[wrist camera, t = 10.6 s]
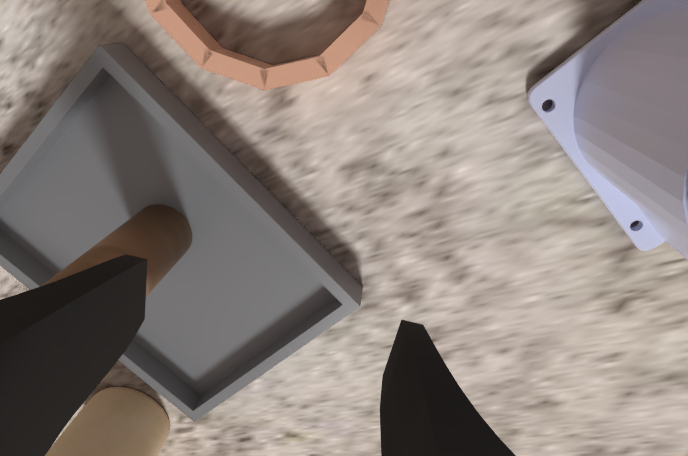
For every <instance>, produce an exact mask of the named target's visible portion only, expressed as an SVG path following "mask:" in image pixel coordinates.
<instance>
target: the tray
mask: <svg viewBox="0 0 688 456" xmlns="http://www.w3.org/2000/svg"><path fill="white" fill-rule="evenodd" d="M155 204H160V205H166V206H169V207H171V208H173V209H175V210H177V211H178V212H179V213H181V214H182V215H183V216H184V217H185V219H186V220H187V221H188V223H189V225H190V227H191V230H192V243H191V246H190V248H189V249H188V251H187V252H186V253H185V254H184V255H183V256H182V257H181V258H180V260H179V261H178V262H177V263H176V264H175V265H174V266H173V267H172V269H171V270H170V271H169V272H168V273H167V274H166V275H165V276H164V277H163V279H162V280H161V281H160V282H159V283H158V284H157V285H156V286H155V287H154V289H153V290H152V291H151V292H150V293H149V294H148V295H147V296H146V303H145V320H144V321H143V323H142V325H141V326H140V328H139V330H138V332H137V333H136V335H135V337H134V338H133V340H132V341H131V343H130V345H129V346H128V348H127V349H126V351H125V352H124V353H123V354H122V356H121V357H120V358H119V359H118V361H120V362H121V363H122V364H123V365H125V366H126V367H127V368H128V369H130V370H131V371H132V372H133V373H135V374H136V375H137V376H138V377H139V378H141V379H142V380H143V381H144V382H146V383H147V384H148V385H149V386H151V387H152V388H153V389H154V390H156V391H157V392H158V393H159V394H161V395H162V396H163V397H164V398H166V399H167V400H168V401H169V402H171V403H172V404H173V405H174V406H175V407H177V408H178V409H179V410H180V411H182V412H183V413H184V414H185V415H187V416H188V417H189V418H190V419H192V420H193V421H194V422H195V421H196V420H198V419H199V418H201V417H202V416H203V415H205V414H206V413H208V412H209V411H211V410H212V409H213V408H215V407H216V406H218V405H219V404H221V403H222V402H224V401H225V400H226V399H228V398H229V397H231V396H232V395H234V394H235V393H236V392H238V391H239V390H241V389H242V388H244V387H245V386H247V385H248V384H249V383H251V382H252V381H254V380H255V379H257V378H258V377H260V376H261V375H262V374H264V373H265V372H267V371H268V370H270V369H271V368H272V367H274V366H275V365H277V364H278V363H280V362H281V361H283V360H284V359H285V358H287V357H288V356H290V355H291V354H293V353H294V352H295V351H297V350H298V349H300V348H301V347H303V346H304V345H306V344H307V343H308V342H310V341H311V340H313V339H314V338H316V337H317V336H319V335H320V334H321V333H323V332H324V331H326V330H327V329H329V328H330V327H331V326H333V325H334V324H336V323H337V322H339V321H340V320H342V319H343V318H344V317H346V316H347V315H349V314H350V313H352V312H353V311H354V310H356V309H357V308H359V307H360V304H361V296H362V289H363V287H362V286H361V285H360V284H359V283H358V282H357V281H356V280H355V279H354V278H353V277H352V276H351V275H350V274H349V273H348V272H347V271H346V270H345V268H344V267H343V266H342V265H341V264H340V263H339V262H338V261H337V260H336V259H335V258H334V257H333V256H332V255H331V254H330V253H329V252H328V251H327V250H326V249H325V248H324V247H323V246H322V245H321V244H320V243H319V242H318V241H317V240H316V239H315V238H314V237H313V236H312V235H311V234H310V233H309V232H308V231H307V230H306V229H305V228H304V227H303V226H302V225H301V224H300V223H299V222H298V221H297V220H296V219H295V218H294V216H293V215H292V214H291V213H290V212H289V211H288V210H287V209H286V208H285V207H284V206H283V205H282V204H281V203H280V202H279V201H278V200H277V199H276V198H275V197H274V196H273V195H272V194H271V193H270V192H269V191H268V190H267V189H266V188H265V187H264V186H263V185H262V184H261V183H260V182H259V181H258V180H257V179H256V178H255V177H254V176H253V175H252V174H251V173H250V172H249V171H248V170H247V169H246V168H245V167H244V165H243V164H242V163H241V162H240V161H239V160H238V159H237V158H236V157H235V156H234V155H233V154H232V153H231V152H230V151H229V150H228V149H227V148H226V147H225V146H224V145H223V144H222V143H221V142H220V141H219V140H218V139H217V138H216V137H215V136H214V135H213V134H212V133H211V132H210V131H209V130H208V129H207V128H206V127H205V126H204V125H203V124H202V123H201V122H200V121H199V120H198V119H197V118H196V117H195V116H194V114H193V113H192V112H191V111H190V110H189V109H188V108H187V107H186V106H185V105H184V104H183V103H182V102H181V101H180V100H179V99H178V98H177V97H176V96H175V95H174V94H173V93H172V92H171V91H170V90H169V89H168V88H167V87H166V86H165V85H164V84H163V83H162V82H161V81H160V80H159V79H158V78H157V77H156V76H155V75H154V74H153V73H152V72H151V71H150V70H149V69H148V68H147V67H146V66H145V65H144V64H143V62H142V61H141V60H140V59H139V58H138V57H137V56H136V55H135V54H134V53H133V52H132V51H131V50H130V49H129V48H128V47H127V46H126V45H125V44H124V43H115V44H105V45H99V46H98V47H97V49H96V50H95V51H94V53H93V54H92V55H91V56H90V58H89V59H88V60H87V62H86V63H85V64H84V66H83V67H82V68H81V69H80V71H79V72H78V73H77V75H76V76H75V77H74V79H73V80H72V81H71V83H70V84H69V85H68V86H67V88H66V89H65V90H64V92H63V93H62V94H61V96H60V97H59V98H58V99H57V101H56V102H55V103H54V105H53V106H52V107H51V109H50V110H49V111H48V112H47V114H46V115H45V116H44V118H43V119H42V120H41V122H40V123H39V124H38V125H37V127H36V128H35V129H34V131H33V132H32V133H31V135H30V136H29V137H28V138H27V140H26V141H25V142H24V144H23V145H22V146H21V148H20V149H19V150H18V152H17V153H16V154H15V155H14V157H13V158H12V159H11V161H10V162H9V163H8V165H7V166H6V167H5V168H4V170H3V171H2V172H1V174H0V266H2V267H3V268H4V269H5V270H7V271H8V272H9V273H10V274H12V275H13V276H14V277H15V278H17V279H18V280H19V281H20V282H22V283H23V284H24V285H25V286H26V287H28V288H29V289H30V290H32V289H35V288H38V287H40V286H42V285H43V284H44V283H46V282H47V281H48V280H50V279H51V278H52V277H54V276H55V275H56V274H58V273H59V272H60V271H61V270H63V269H64V268H65V267H67V266H68V265H69V264H71V263H72V262H73V261H75V260H76V259H77V258H79V257H80V256H81V255H83V254H84V253H85V252H87V251H88V250H89V249H91V248H92V247H93V246H95V245H96V244H97V243H99V242H100V241H101V240H102V239H104V238H105V237H106V236H108V235H109V234H110V233H112V232H113V231H114V230H116V229H117V228H118V227H120V226H121V225H122V224H124V223H125V222H126V221H128V220H129V219H130V218H132V217H133V216H134V215H136V214H137V213H138V212H140V211H141V210H142V209H144V208H145V207H147V206H150V205H155Z"/></svg>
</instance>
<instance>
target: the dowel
mask: <svg viewBox="0 0 688 456" xmlns="http://www.w3.org/2000/svg"><path fill="white" fill-rule="evenodd" d="M191 243H192V230H191V227H190V225H189V223H188V221H187V220H186V219H185V217H184V216H183V215H182V214H181V213H179V212H178V211H177V210H175V209H173V208H171V207H169V206H166V205H160V204H155V205H150V206H147V207H145V208H144V209H142V210H141V211H140V212H138V213H137V214H136V215H134V216H133V217H132V218H130V219H129V220H128V221H126V222H125V223H124V224H122V225H121V226H120V227H118V228H117V229H116V230H114V231H113V232H112V233H110V234H109V235H108V236H106V237H105V238H104V239H102V240H101V241H100V242H99V243H97V244H96V245H95V246H93V247H92V248H91V249H89V250H88V251H87V252H85V253H84V254H83V255H81V256H80V257H79V258H77V259H76V260H75V261H73V262H72V263H71V264H69V265H68V266H67V267H65V268H64V269H63V270H61V271H60V272H59V273H58V274H56V275H55V276H54V277H52V278H51V279H50V280H48V281H47V282H46V283H44V284H43V285H46V284H49V283H52V282H55V281H57V280H60V279H63V278H65V277H68V276H70V275H73V274H75V273H78V272H80V271H83V270H86V269H88V268H91V267H93V266H96V265H98V264H101V263H103V262H106V261H108V260H111V259H113V258H116V257H119V256H122V255H125V254H127V255H131V256H135V257H140V258H144V259H148V261H147V282H146V296H147V295H148V294H149V293H150V292H151V291H152V290H153V289H154V287H155V286H156V285H157V284H158V283H159V282H160V281H161V280H162V279H163V277H164V276H165V275H166V274H167V273H168V272H169V271H170V270H171V269H172V267H173V266H174V265H175V264H176V263H177V262H178V261H179V260H180V258H181V257H182V256H183V255H184V254H185V253H186V252H187V251H188V249H189V248H190V246H191ZM43 285H42V286H43Z"/></svg>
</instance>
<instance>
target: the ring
mask: <svg viewBox="0 0 688 456" xmlns="http://www.w3.org/2000/svg"><path fill="white" fill-rule="evenodd" d="M145 1H146V4H147V7H148V10H149V13H151V14H150V15H151V16H152V17H153V18H154V19H155V20H156V21H157V22H158V23H159V24H160V25H161V26H162V27H163V28H164V29H165V30H166V31H167V33H168V34H169V35H170V36H171V37H172V38H173V39H174V40H175V41H176V42H177V43H178V44H179V45H180V46H181V47H182V48H183V49H184V51H185V52H186V53H187V54H188V55H189V56H190V57H191V58H192V59H193V60H194V61H195V62H196V63H197V64H198V65H199V66H200V67H201V68H202V69H205V70H208V71H211V72H214V73H217V74H219V75H222V76H225V77H228V78H231V79H234V80H237V81H240V82H243V83H246V84H248V85H251V86H254V87H257V88H260V89H263V90H268V89H272V88H277V87H281V86H286V85H291V84H295V83H300V82H304V81H309V80H314V79H318V78H323V77H327V76H329V75H331V74H332V73H333V72H334V71H335V70H336V69H337V68H338V67H339V66H340V65H341V64H342V63H344V62H345V61H346V60H347V59H348V58H349V57H350V56H351V55H352V54H353V53H354V52H355V51H356V50H357V49H358V48H359V47H360V46H361V45H362V44H363V43H364V42H365V41H366V40H368V39H369V38H370V37H371V36H372V35H373V34H374V33H375V32H376V31H377V30H378V29H379V28H380V27H381V26H382V24H383V21H384V18H385V15H386V12H387V9H388V5H389V2H390V0H367V1H366V4H365V7H364V11H363V14H362V15H361V16H360V17H359V18H358V19H357V20H356V21H355V22H353V23H352V24H351V25H350V26H349V27H348V28H347V29H346V30H345V31H344V32H343V33H342V34H341V35H340V36H339V37H338V38H337V39H336V40H335V41H334V42H333V43H332V44H331V45H330V46H329V47H328V48H327V49H326V50H325V51H324V52H323V53H322V54H321V55H317V56H313V57H308V58H304V59H300V60H295V61H291V62H286V63H282V64H278V65H270V64H268V63H265V62H262V61H259V60H256V59H253V58H250V57H247V56H245V55H242V54H239V53H236V52H233V51H230V50H227V49H224V48H222V47H221V46H220V45H219V44H218V42H217V41H216V40H215V39H214V38H213V37H212V36H211V35H210V34H209V33H208V32H207V30H206V29H205V28H204V27H203V26H202V25H201V24H200V23H199V22H198V21H197V20H196V18H195V17H194V16H193V15H192V14H191V13H190V12H189V11H188V10H187V9H186V8H185V7H184V5H183V4H182V2H181V0H145Z"/></svg>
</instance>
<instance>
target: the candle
mask: <svg viewBox="0 0 688 456" xmlns="http://www.w3.org/2000/svg"><path fill="white" fill-rule="evenodd" d="M169 429H170V424H169V419H168V417H167V415H166V413H165V411H164V410H163V408H162V407H161V406H160V405H159V404H158V403H157V402H156V401H155V400H153V399H152V398H151V397H149V396H148V395H146V394H144V393H142V392H140V391H137V390H135V389H131V388H126V387H109V388H106V389H103V390H101V391H99V392H98V393H96V394H95V395H94V396H93V397H92V398H91V399H90V400H89V401H88V403H87V404H86V405H85V406H84V407H83V409H82V410H81V411H80V412H79V413H78V415H77V416H76V417H75V418H74V420H73V421H72V422H71V423H70V425H69V426H68V427H67V428H66V430H65V431H64V432H63V433H62V435H61V436H60V437H59V438H58V440H57V441H56V442H55V443H54V445H53V446H52V447H51V448H50V450H49V451H48V452H47V453H46V455H45V456H158V454H159V452H160V451H161V449H162V447H163V445H164V443H165V441H166V439H167V436H168V433H169Z"/></svg>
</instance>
